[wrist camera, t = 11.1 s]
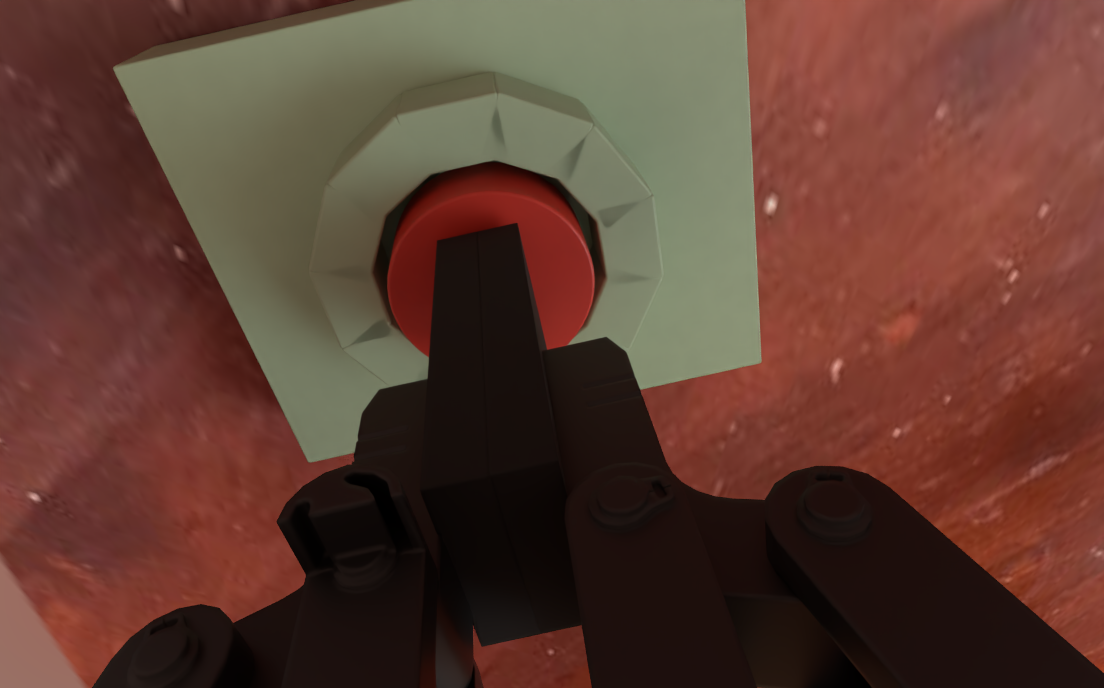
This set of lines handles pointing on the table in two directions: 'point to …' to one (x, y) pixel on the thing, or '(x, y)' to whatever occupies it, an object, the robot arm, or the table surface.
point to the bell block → (450, 143)
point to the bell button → (485, 204)
